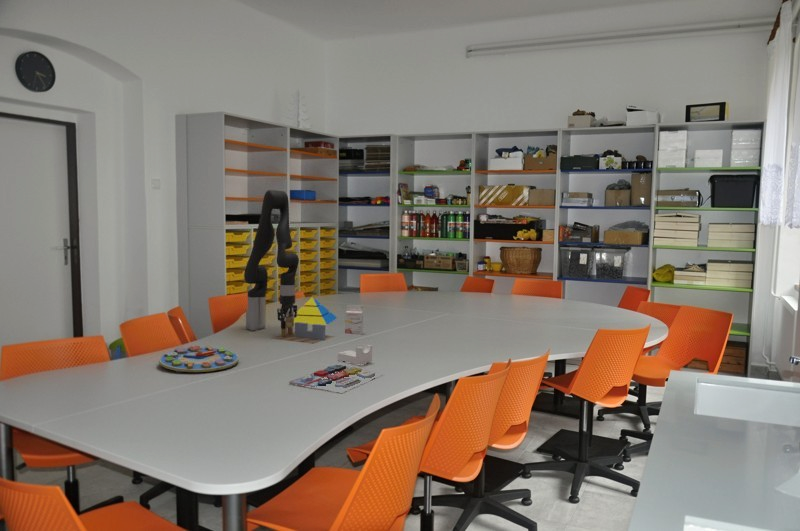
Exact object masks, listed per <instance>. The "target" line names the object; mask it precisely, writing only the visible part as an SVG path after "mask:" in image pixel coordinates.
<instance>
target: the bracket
mask: <svg viewBox="0 0 800 531" xmlns="http://www.w3.org/2000/svg"><path fill="white" fill-rule="evenodd" d="M337 360H341V361H345V362H344V363H346V362H350V363H355V364H360V365H361V364H365V363H366V364H367V363H370V362H372V361H373V345H372V344H365V349H364V350H363V347H361V346H357V347H355V351H354V350H349V349H348V350H344V351H340V352H337ZM341 361H340V362H341ZM350 363H349V364H350ZM355 364H354V365H355Z"/></svg>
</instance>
